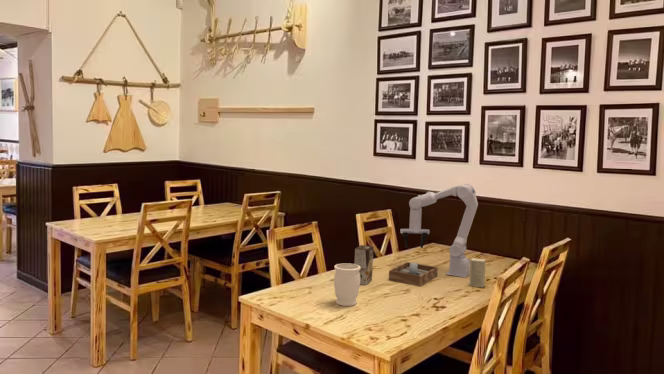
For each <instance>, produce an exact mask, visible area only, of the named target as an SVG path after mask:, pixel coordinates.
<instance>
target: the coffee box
mask: <svg viewBox="0 0 664 374" xmlns="http://www.w3.org/2000/svg"><path fill="white" fill-rule="evenodd" d="M373 263H374V246H373V245H367V244H366V245H362V244H361V245H359V246H357V247H356V248H354V263H353V264H356V265H359V266H360V268H361V269H360V270H359V273H360V285H361V286H363V285H364V286H366V285H369V283H371V282H372V281H373V268H374V267H373V265H374V264H373Z"/></svg>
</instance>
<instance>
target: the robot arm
mask: <svg viewBox="0 0 664 374" xmlns="http://www.w3.org/2000/svg"><path fill="white" fill-rule="evenodd" d="M476 193H477V191H476V189H475V188H474V187H473V186H472V185H471V184H469V183H465V184H463V185H456V186H451V187H449V188H446V189H444V190H441V191H439V192H433V191H426V193H425V194H418V195H417V196H415V197H412V198H411V199H410V200H409V202H408V204H409V205H408V206H409V208H410V210H409V228H400V232H399V233H400V234H401V235H402V237H403V240H404V244H405V248H406V249H408V248H409V234H420V248H421V249H424V244H425V242H426V240H427V238H428V236H429V235H430V232H431V231H430V229H428V228H427V229H425V228H423V229H422V213H423V212H422V211H423V210H422V208H423V207H427V206H430V205H433V204H435V203H437V201H438V200H439V199H443V198H445V197H449V196H454V197H458V198H459V199H460V200H462V201H463V202H464V204H465V209H464V213H463V216H462V219H461V222H460V224H459V225H460V226H459V228H458V231H457V235H456V237H455V239H454V240H453V243H452V245H450V246H449V249H448V250H449V268H448V269H449V270H448V271H447V272H446V273H445V274H446V275H448V276H454V277H458V278H459V277H461V278H466V277H468V276H470V260H471V259H470V258H468V257H466V254H465V253H466V251H467V242H468V241H467V240H468V236H469V232H470V230H471V227H472V225H473V220H474V218H475V215H476V213H477V209H478V207H479V202H478V199H477V195H476Z"/></svg>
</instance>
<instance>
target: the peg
mask: <svg viewBox="0 0 664 374" xmlns="http://www.w3.org/2000/svg"><path fill="white" fill-rule="evenodd" d="M418 264H419V263H417V262H410V271H409V274H413V275H417V266H418Z"/></svg>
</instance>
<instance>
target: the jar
mask: <svg viewBox="0 0 664 374" xmlns="http://www.w3.org/2000/svg"><path fill="white" fill-rule="evenodd" d="M360 269H361V268H360V266H359V265H356V264H354V263H350V262H349V263H347V262H346V263H336V264H335V265H334V270H335V272H334V277H333V285H334V286H333V287H334V293H335V297H336V300H335V303H336V304H337V305H339V306H343V307H351V306H355V305H357V304H358V303H357V302H358V301H357V299H358V295H359V293H360V292H359V291H360V287H361V286H360V285H361V284H360V273H359V270H360Z"/></svg>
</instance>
